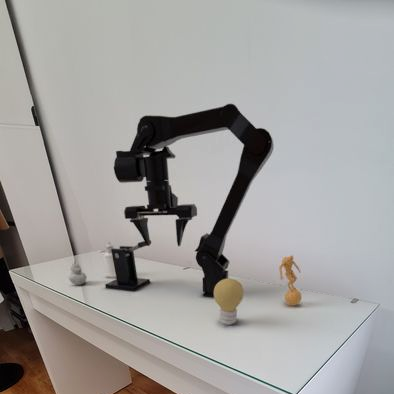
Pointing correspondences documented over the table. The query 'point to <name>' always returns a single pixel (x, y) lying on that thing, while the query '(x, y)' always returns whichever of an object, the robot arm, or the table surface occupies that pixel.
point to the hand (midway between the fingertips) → (163, 245)
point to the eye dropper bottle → (109, 261)
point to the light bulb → (228, 299)
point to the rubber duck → (77, 275)
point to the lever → (135, 247)
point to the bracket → (125, 271)
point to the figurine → (293, 294)
